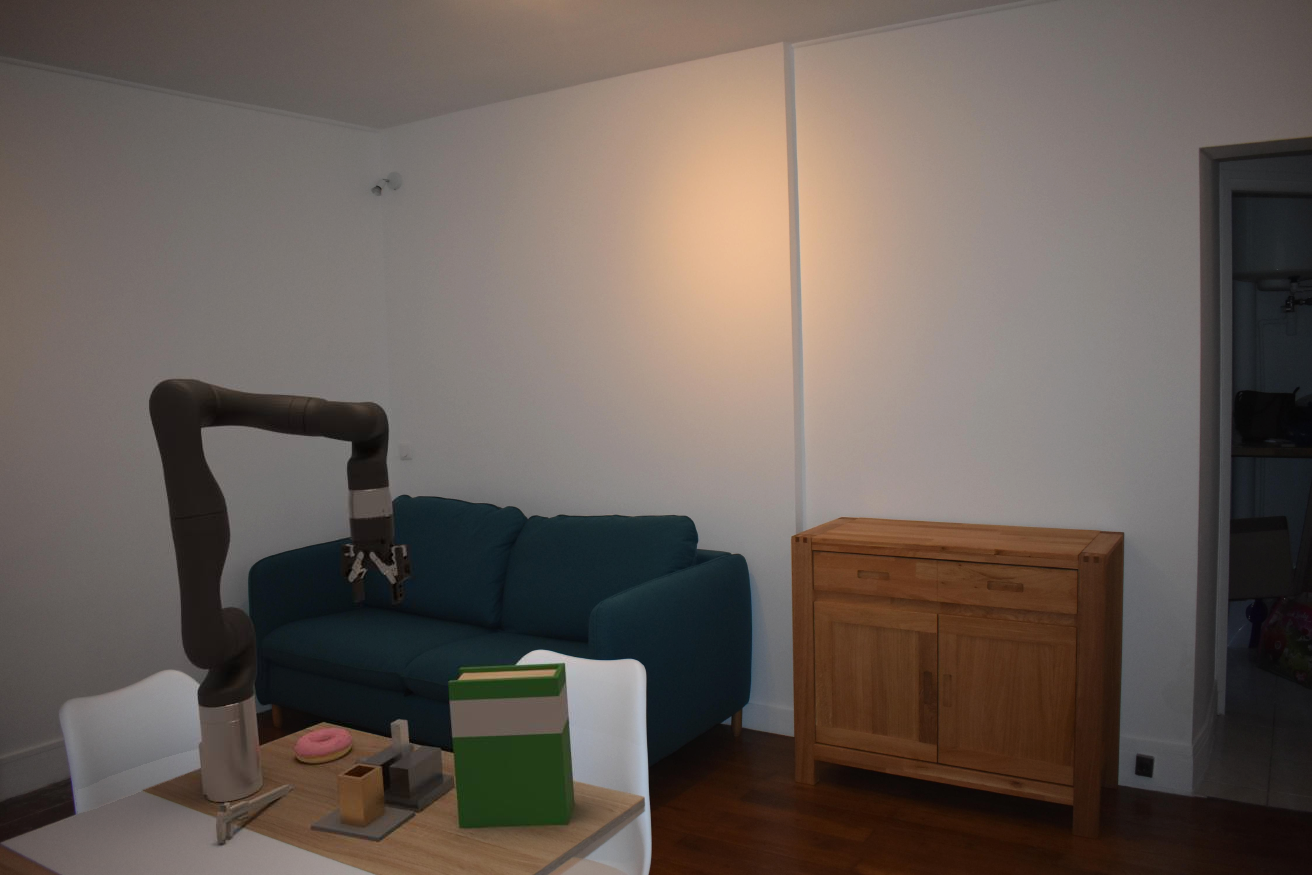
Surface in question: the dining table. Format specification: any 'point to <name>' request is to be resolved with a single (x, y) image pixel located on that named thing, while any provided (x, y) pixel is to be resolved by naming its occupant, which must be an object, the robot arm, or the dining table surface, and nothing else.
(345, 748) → the doughnut
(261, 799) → the caliper
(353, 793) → the copper collar
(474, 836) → the dining table surface
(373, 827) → the slate pad
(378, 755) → the grey slotted block
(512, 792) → the hardback book
